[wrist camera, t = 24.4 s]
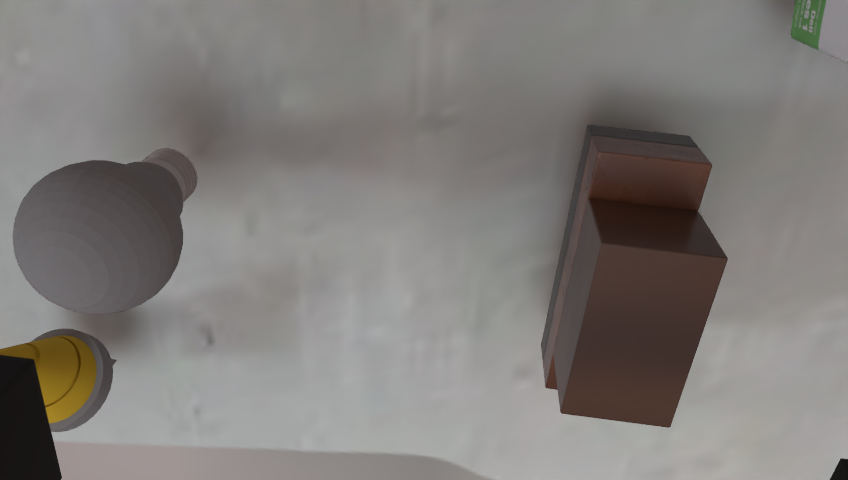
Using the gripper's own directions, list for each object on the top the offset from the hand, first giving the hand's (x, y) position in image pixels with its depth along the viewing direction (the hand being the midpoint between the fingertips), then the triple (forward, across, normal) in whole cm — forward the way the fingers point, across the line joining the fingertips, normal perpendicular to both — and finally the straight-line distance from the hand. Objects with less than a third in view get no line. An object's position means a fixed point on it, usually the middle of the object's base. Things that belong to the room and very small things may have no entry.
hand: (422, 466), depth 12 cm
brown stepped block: (+21, +8, -6) cm, 23 cm away
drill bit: (+21, -20, -16) cm, 34 cm away
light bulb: (+21, -13, -5) cm, 26 cm away
